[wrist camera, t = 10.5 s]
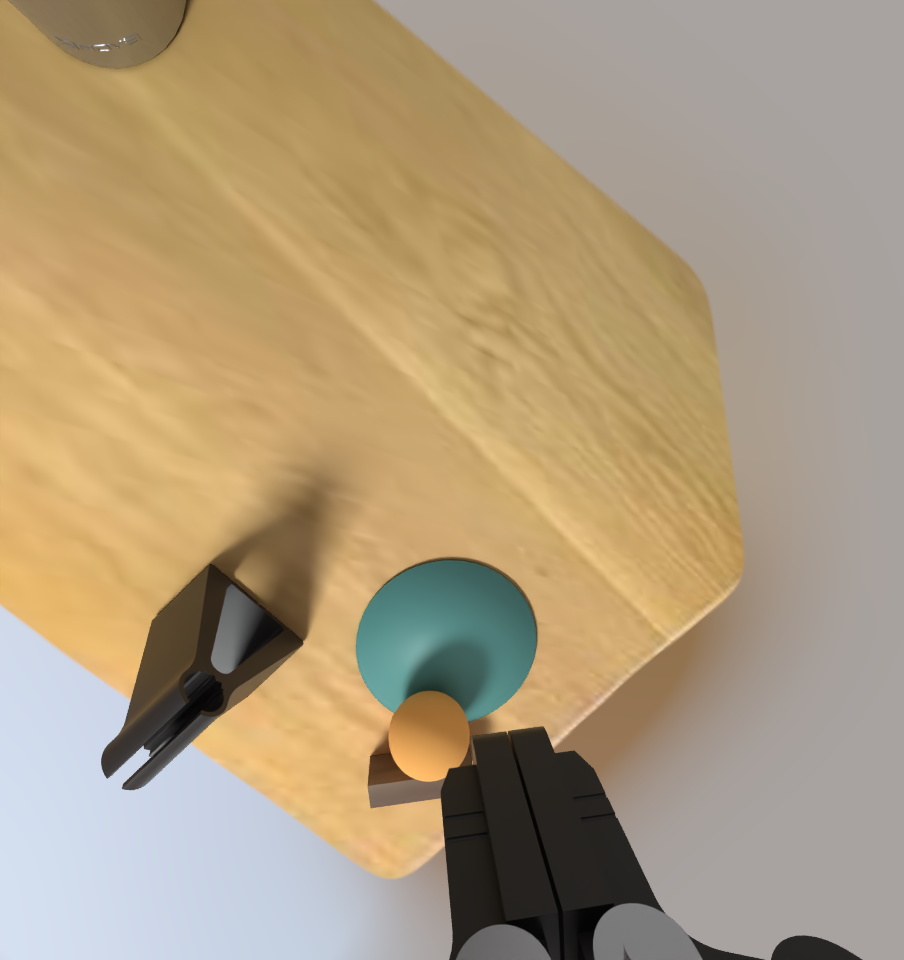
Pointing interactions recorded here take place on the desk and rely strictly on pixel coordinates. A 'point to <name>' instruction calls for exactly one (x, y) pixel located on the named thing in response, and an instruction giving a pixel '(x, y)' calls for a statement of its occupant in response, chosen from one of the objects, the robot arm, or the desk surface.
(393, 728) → the ball
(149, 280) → the desk surface
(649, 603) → the desk surface
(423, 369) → the desk surface
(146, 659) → the phone stand
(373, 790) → the stop bar
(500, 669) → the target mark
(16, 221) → the desk surface
